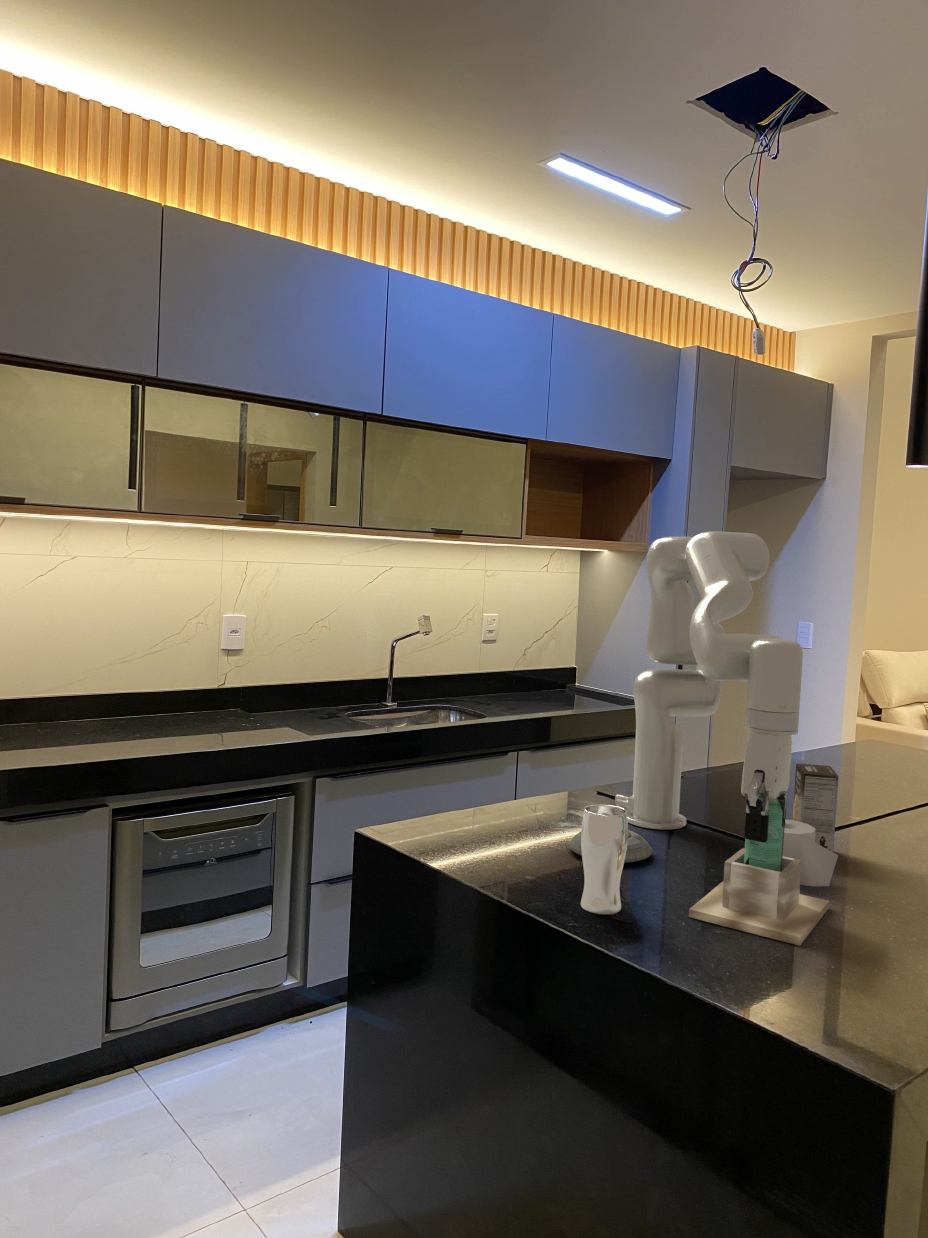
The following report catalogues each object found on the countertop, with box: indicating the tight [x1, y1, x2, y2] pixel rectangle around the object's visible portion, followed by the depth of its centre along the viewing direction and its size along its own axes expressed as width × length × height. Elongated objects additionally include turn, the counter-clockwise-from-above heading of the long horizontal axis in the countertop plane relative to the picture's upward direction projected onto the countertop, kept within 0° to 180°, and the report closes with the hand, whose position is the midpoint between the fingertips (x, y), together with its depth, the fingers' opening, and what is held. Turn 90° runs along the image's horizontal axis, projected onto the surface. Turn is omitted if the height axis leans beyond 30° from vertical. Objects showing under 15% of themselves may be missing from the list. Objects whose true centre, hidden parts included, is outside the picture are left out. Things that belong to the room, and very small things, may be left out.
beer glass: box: [580, 803, 629, 915], centre depth 136 cm, size 7×7×15 cm
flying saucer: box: [568, 829, 654, 864], centre depth 163 cm, size 15×15×6 cm
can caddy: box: [688, 847, 830, 946], centre depth 137 cm, size 16×18×8 cm
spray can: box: [744, 779, 788, 872], centre depth 137 cm, size 6×6×20 cm
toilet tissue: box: [783, 818, 839, 887], centre depth 155 cm, size 9×13×9 cm
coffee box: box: [792, 763, 840, 853], centre depth 168 cm, size 9×6×16 cm
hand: (765, 833), depth 136 cm, fingers open, 9 cm apart
